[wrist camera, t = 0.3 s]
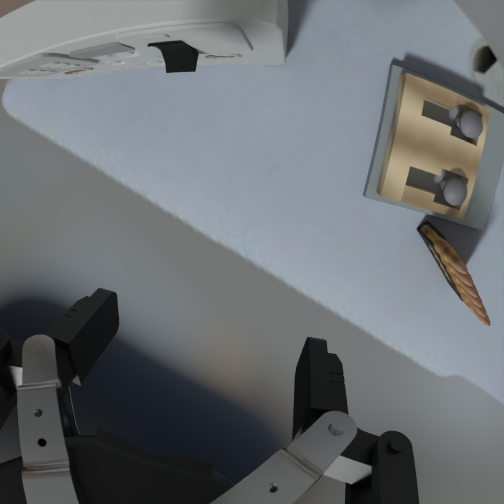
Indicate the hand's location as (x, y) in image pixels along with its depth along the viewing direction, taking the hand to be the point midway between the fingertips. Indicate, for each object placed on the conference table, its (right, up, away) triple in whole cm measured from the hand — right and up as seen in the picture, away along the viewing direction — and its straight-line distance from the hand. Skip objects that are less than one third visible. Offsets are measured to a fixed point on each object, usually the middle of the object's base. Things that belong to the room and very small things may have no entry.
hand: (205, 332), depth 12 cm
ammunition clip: (+27, +3, +25) cm, 37 cm away
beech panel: (+23, +15, +18) cm, 33 cm away
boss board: (+25, +15, +19) cm, 35 cm away
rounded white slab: (-8, +28, +18) cm, 34 cm away
